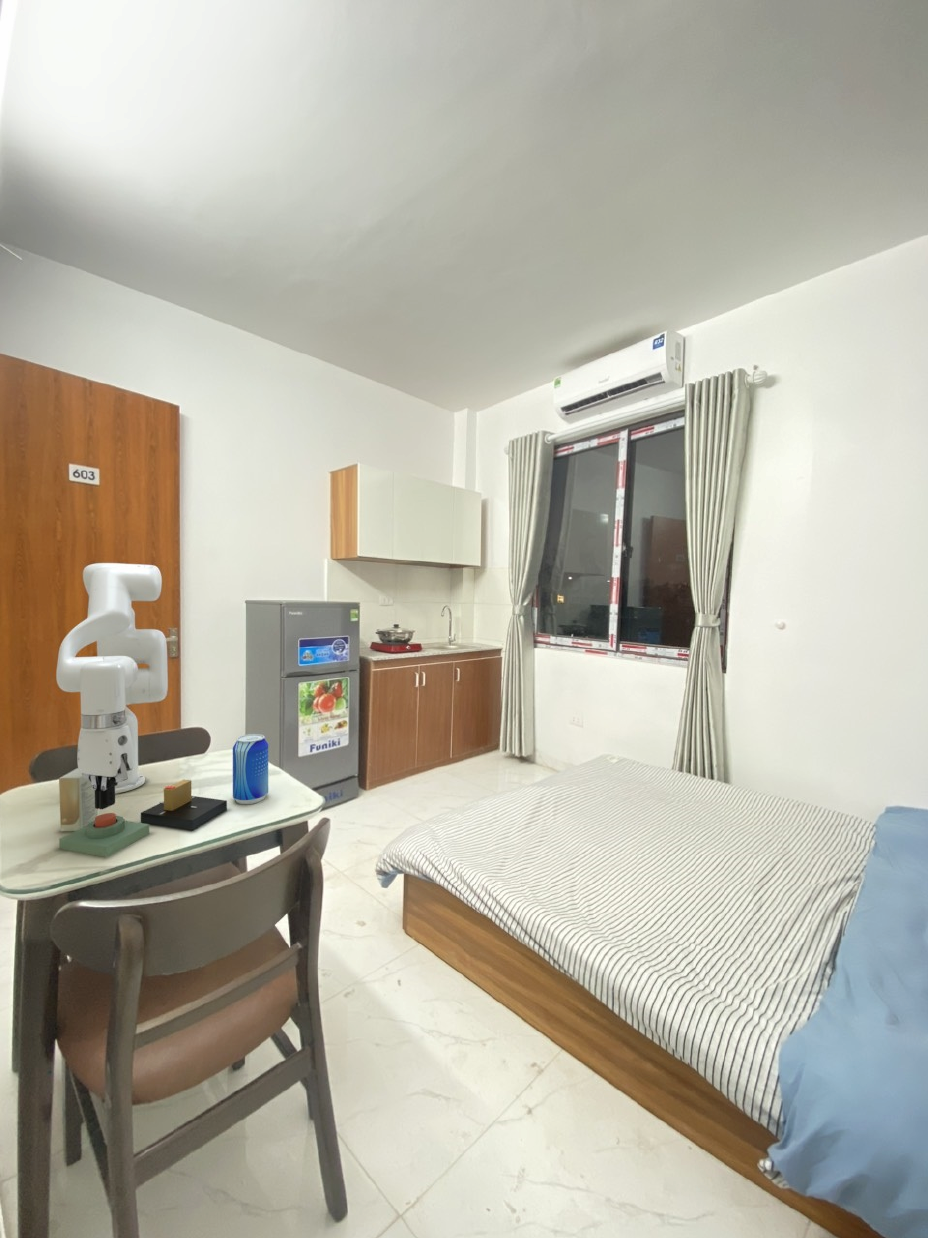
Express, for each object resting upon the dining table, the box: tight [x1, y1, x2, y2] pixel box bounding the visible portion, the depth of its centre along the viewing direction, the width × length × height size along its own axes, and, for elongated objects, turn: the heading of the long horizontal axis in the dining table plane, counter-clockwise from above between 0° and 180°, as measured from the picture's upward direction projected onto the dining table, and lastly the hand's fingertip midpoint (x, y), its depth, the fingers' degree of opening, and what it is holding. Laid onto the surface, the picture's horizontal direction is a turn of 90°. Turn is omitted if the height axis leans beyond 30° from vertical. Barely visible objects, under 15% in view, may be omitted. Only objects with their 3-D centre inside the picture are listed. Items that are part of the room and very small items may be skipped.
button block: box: [58, 815, 150, 858], centre depth 104 cm, size 12×10×4 cm
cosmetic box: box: [58, 767, 99, 832], centre depth 111 cm, size 6×4×12 cm
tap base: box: [140, 795, 228, 832], centre depth 117 cm, size 14×11×3 cm
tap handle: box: [163, 779, 193, 811], centre depth 117 cm, size 6×2×5 cm, turn 167°
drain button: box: [95, 812, 117, 828], centre depth 104 cm, size 4×4×2 cm
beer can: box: [232, 733, 269, 805], centre depth 127 cm, size 8×8×16 cm
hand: (105, 806), depth 104 cm, fingers closed
